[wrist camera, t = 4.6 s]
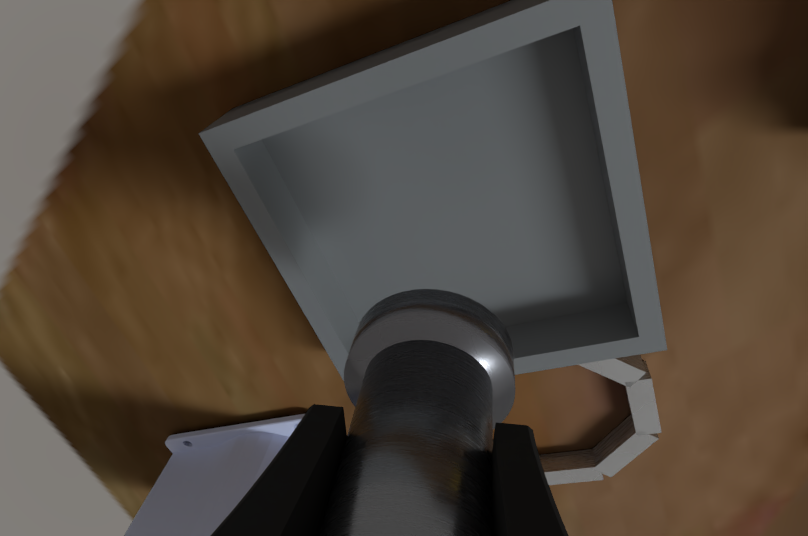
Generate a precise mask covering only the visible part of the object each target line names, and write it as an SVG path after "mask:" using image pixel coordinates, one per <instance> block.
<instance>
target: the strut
mask: <svg viewBox="0 0 808 536" xmlns="http://www.w3.org/2000/svg"><path fill="white" fill-rule="evenodd" d="M344 383H345V388H346V391H347V394H348V396H349V398H350V400H351V401H352V403H353V404H354V406H355V411H354V414H353V418H352V421H351V425H350V428H349V432H348V435H347V439H346V442H345V446H344V449H343V453H342V456H341V460H340V463H339V467H338V470H337V474H336V477H335V481H334V485H333V488H332V492H331V495H330V499H329V502H328V506H327V509H326V513H325V516H324V520H323V523H322V527H321V530H320V534H319V536H492V439H493V429H494V428H495V424H496V423H501V422H502V421H503V420H504V419H505V418H506V416H507V415H508V414H509V412H510V410H511V408H512V406H513V402H514V398H515V374H514V352H513V345H512V341H511V338H510V335H509V333H508V331H507V329H506V328H505V326H504V325H503V323H502V322H501V321H500V320H499V319H498V318H497V316H496V315H495V314H493V313H492V312H491V311H490V310H489V309H488V308H486V307H485V306H483V305H481V304H480V303H478V302H476V301H474V300H472V299H470V298H468V297H466V296H463V295H460V294H457V293H453V292H449V291H444V290H437V289H416V290H409V291H404V292H400V293H397V294H394V295H391V296H389V297H387V298H385V299H383V300H381V301H380V302H378V303H376V304H375V305H374V306H373V307H372V308H370V309H369V310H368V312H367V313H366V314H365V315H364V316H363V318H362V320H361V321H360V323H359V325H358V328H357V331H356V334H355V337H354V340H353V342H352V345H351V348H350V351H349V354H348V357H347V360H346V363H345V368H344Z"/></svg>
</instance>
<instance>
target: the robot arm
mask: <svg viewBox="0 0 808 536" xmlns="http://www.w3.org/2000/svg"><path fill="white" fill-rule="evenodd" d="M346 439H347V435H346V426H345V418H344V410H343V407H335V406H325V405H315V404H314V405H312V406H311V407H310V408H309V409H308V410H307V412H306V413H305V414H299V415H293V416H287V417H281V418H274V419H268V420H262V421H255V422H249V423H243V424H237V425H230V426H224V427H218V428H212V429H205V430H199V431H193V432H187V433H180V434H174V435H170V436H169V437H168V438H167V440H166V441H165V445H166V446H167V448H168V449H169V450H170V451H171V452H172V453H173V454H172V456H171V457H170V459H169V461H168V463H167V464H166V466H165V468H164V469H163V471H162V473H161V474H160V476H159V478H158V479H157V481H156V483H155V484H154V486H153V488H152V489H151V491H150V493H149V494H148V496H147V498H146V499H145V501H144V503H143V504H142V506H141V508H140V509H139V511H138V513H137V514H136V516H135V518H134V519H133V521H132V523H131V524H130V526H129V528H128V530H127V531H126V533H125V535H124V536H319V534H320V530H321V527H322V523H323V520H324V516H325V513H326V509H327V506H328V502H329V499H330V495H331V492H332V488H333V485H334V481H335V477H336V474H337V470H338V467H339V463H340V460H341V456H342V453H343V449H344V446H345V442H346ZM492 536H568V534H567V531H566V529H565V526H564V524H563V522H562V519H561V517H560V514H559V512H558V509H557V507H556V504H555V501H554V499H553V496H552V493H551V490H550V487H549V485H548V482H547V479H546V476H545V473H544V470H543V467H542V464H541V461H540V457H539V454H538V450H537V446H536V443H535V439H534V434H533V430H532V429H531V428H530V427H529V426H526V425H516V424H506V423H496V424H495V432H494V441H493V449H492Z"/></svg>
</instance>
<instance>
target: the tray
mask: <svg viewBox="0 0 808 536" xmlns="http://www.w3.org/2000/svg"><path fill="white" fill-rule="evenodd" d="M199 135H200V137H201V139H202V141H203V142H204V144H205V146H206V147H207V149H208V151H209V152H210V154H211V156H212V158H213V159H214V161H215V163H216V164H217V166H218V168H219V169H220V171H221V173H222V175H223V176H224V178H225V180H226V181H227V183H228V185H229V186H230V188H231V190H232V192H233V193H234V195H235V197H236V198H237V200H238V202H239V203H240V205H241V207H242V209H243V210H244V212H245V214H246V215H247V217H248V219H249V220H250V222H251V224H252V226H253V227H254V229H255V231H256V232H257V234H258V236H259V238H260V239H261V241H262V243H263V244H264V246H265V248H266V249H267V251H268V253H269V255H270V256H271V258H272V260H273V261H274V263H275V265H276V266H277V268H278V270H279V272H280V273H281V275H282V277H283V278H284V280H285V282H286V283H287V285H288V287H289V289H290V290H291V292H292V294H293V295H294V297H295V299H296V300H297V302H298V304H299V306H300V307H301V309H302V311H303V312H304V314H305V316H306V317H307V319H308V321H309V323H310V324H311V326H312V328H313V329H314V331H315V333H316V334H317V336H318V338H319V340H320V341H321V343H322V345H323V346H324V348H325V350H326V351H327V353H328V355H329V357H330V358H331V360H332V362H333V363H334V365H335V367H336V368H337V370H338V372H339V374H340V375H341V377H342V379H343V380H344V368H345V363H346V360H347V357H348V354H349V351H350V348H351V345H352V342H353V340H354V337H355V334H356V331H357V328H358V325H359V323H360V321H361V320H362V318H363V316H364V315H365V314H366V313H367V312H368V310H369V309H370V308H372V307H373V306H374V305H375V304H376V303H378V302H380V301H381V300H383V299H385V298H387V297H389V296H391V295H394V294H397V293H400V292H404V291H409V290H416V289H437V290H444V291H449V292H453V293H457V294H460V295H463V296H466V297H468V298H470V299H472V300H474V301H476V302H478V303H480V304H481V305H483V306H485V307H486V308H488V309H489V310H490V311H491V312H492V313H493V314H495V315H496V316H497V318H498V319H499V320H500V321H501V322H502V323H503V325H504V326H505V328H506V329H507V331H508V333H509V335H510V338H511V341H512V345H513V352H514V374H515V375H516V374H522V373H528V372H535V371H541V370H547V369H553V368H559V367H565V366H571V365H578V364H584V363H590V362H596V361H602V360H608V359H614V358H620V357H627V356H633V355H639V354H645V353H651V352H657V351H663V350H667V346H666V339H665V333H664V327H663V320H662V314H661V308H660V301H659V295H658V289H657V282H656V276H655V270H654V263H653V257H652V251H651V244H650V238H649V232H648V225H647V219H646V213H645V206H644V200H643V194H642V187H641V181H640V175H639V168H638V162H637V156H636V149H635V143H634V137H633V130H632V124H631V118H630V111H629V105H628V99H627V92H626V86H625V80H624V73H623V67H622V61H621V54H620V48H619V42H618V35H617V29H616V23H615V16H614V10H613V4H612V0H511V1H508V2H506V3H503V4H501V5H498V6H496V7H493V8H490V9H488V10H485V11H483V12H480V13H478V14H475V15H472V16H470V17H467V18H465V19H462V20H460V21H457V22H454V23H452V24H449V25H447V26H444V27H441V28H439V29H436V30H434V31H431V32H429V33H426V34H423V35H421V36H418V37H416V38H413V39H411V40H408V41H405V42H403V43H400V44H398V45H395V46H393V47H390V48H387V49H385V50H382V51H380V52H377V53H375V54H372V55H369V56H367V57H364V58H362V59H359V60H356V61H354V62H351V63H349V64H346V65H344V66H341V67H338V68H336V69H333V70H331V71H328V72H326V73H323V74H320V75H318V76H315V77H313V78H310V79H308V80H305V81H302V82H300V83H297V84H295V85H292V86H290V87H287V88H284V89H282V90H279V91H277V92H274V93H271V94H269V95H266V96H264V97H261V98H259V99H256V100H253V101H251V102H248V103H246V104H243V105H241V106H238V107H235V108H233V109H231V110H230V111H228V112H227V113H226V114H224V115H223V116H222V117H220V118H219V119H218V120H216V121H215V122H213V123H212V124H211V125H209V126H208V127H207V128H205V129H204V130H203V131H201V132H200V133H199Z"/></svg>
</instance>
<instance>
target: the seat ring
mask: <svg viewBox="0 0 808 536" xmlns="http://www.w3.org/2000/svg"><path fill="white" fill-rule="evenodd" d="M578 365H580V366H582V367H585V368H587V369H589V370H591V371H593V372H596V373H598V374H600V375H602V376H605V377H607V378H609V379H611V380H614V381H616V382H618V383H620V384H623V385H625V390H626V394H627V399H628V403H629V408H630V412H631V415H630V416H629V417H628V418H626V419H625V420H624V421H623V422H622V423H621V424H620V425H619V426H617V427H616V428H615V429H614V430H613V431H612V432H611V433H610V434H608V435H607V436H606V437H605V438H604V439H603V440H602V441H600V442H599V443H598V444H597V445H596V446H595V447H594V448H593V449H588V450H579V451H570V452H561V453H552V454H543V455H539V457H540V461H541V464H542V467H543V470H544V473H545V476H546V479H547V482H548V485H554V484H565V483H575V482H586V481H596V480H603V474H605V475H607V476H610V477H612V476H613V475H614V474H616V473H617V472H618V471H619V470H621V469H622V468H623V467H624V466H626V465H627V464H628V463H629V462H630V461H632V460H633V459H634V458H635V457H637V456H638V455H639V454H640V453H642V452H643V451H644V450H645V449H647V448H648V447H649V446H650V445H652V444H653V443H654V442H655V441H656V440H658V439H659V438H658V435H657V433H661V427H660V422H659V417H658V411H657V406H656V400H655V395H654V389H653V384H652V379H651V376H650V373H649V370H648V367H647V364H646V361H642V358H641V355H633V356H627V357H620V358H614V359H608V360H602V361H596V362H590V363H584V364H578ZM493 441H494V440H492V449H493ZM602 473H603V474H602Z"/></svg>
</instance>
